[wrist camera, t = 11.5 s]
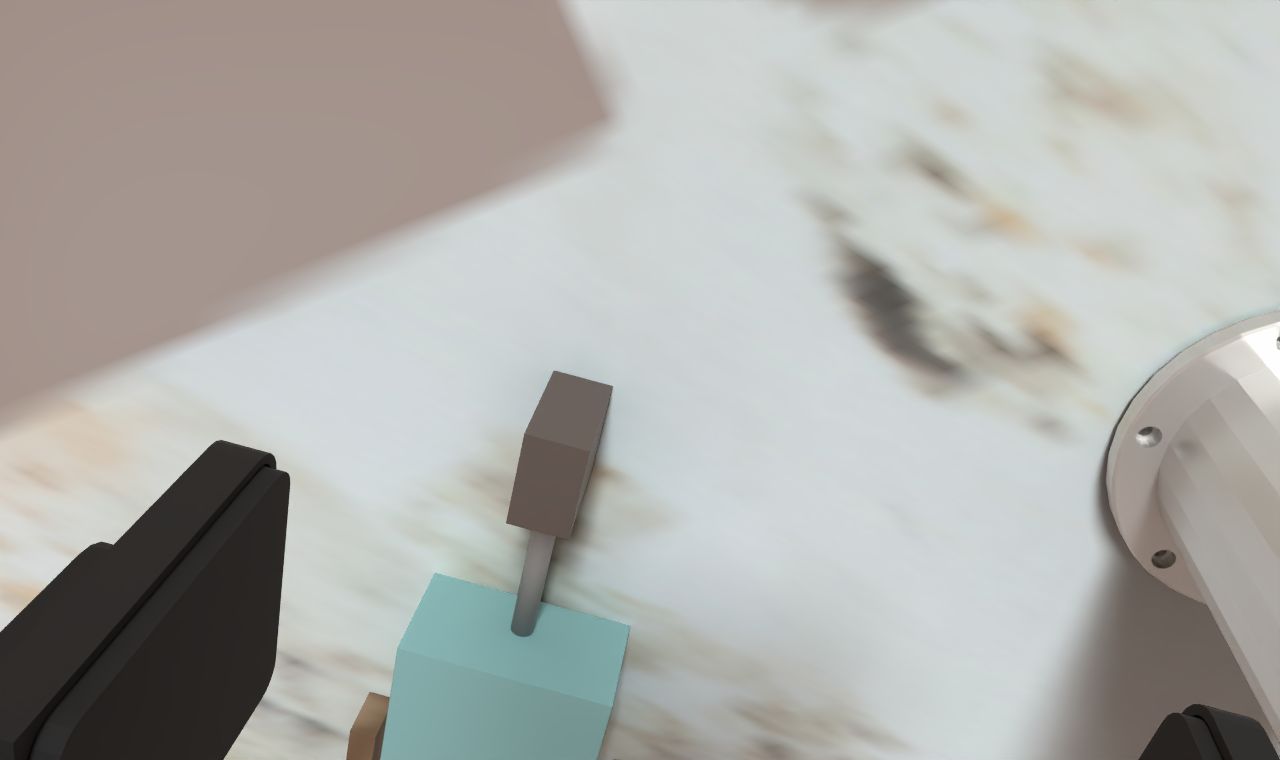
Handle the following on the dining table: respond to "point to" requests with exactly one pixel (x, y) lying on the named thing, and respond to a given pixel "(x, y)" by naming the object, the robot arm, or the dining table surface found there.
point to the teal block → (515, 623)
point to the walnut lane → (369, 729)
